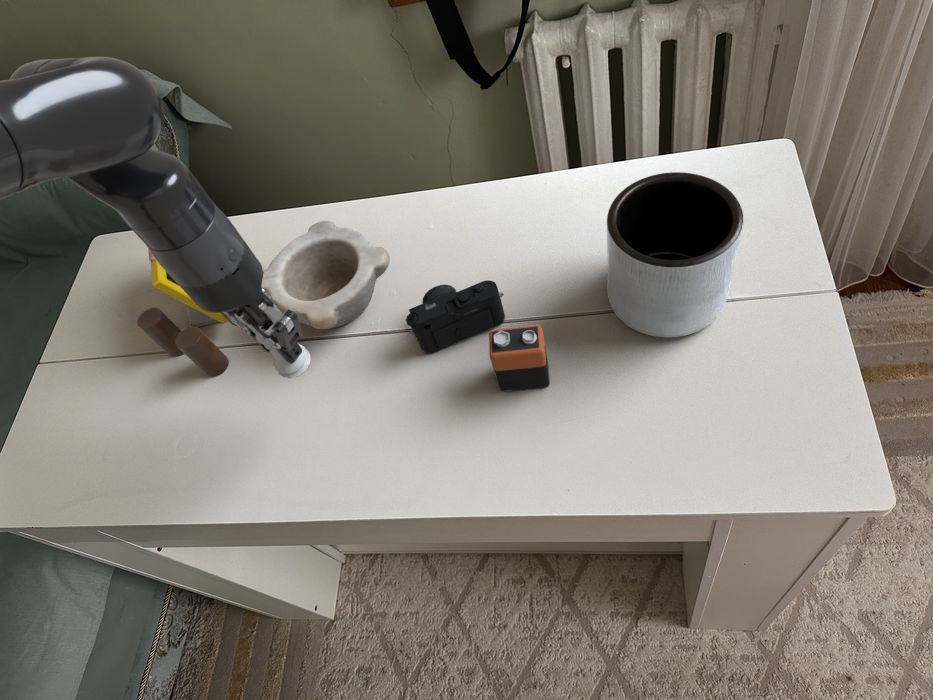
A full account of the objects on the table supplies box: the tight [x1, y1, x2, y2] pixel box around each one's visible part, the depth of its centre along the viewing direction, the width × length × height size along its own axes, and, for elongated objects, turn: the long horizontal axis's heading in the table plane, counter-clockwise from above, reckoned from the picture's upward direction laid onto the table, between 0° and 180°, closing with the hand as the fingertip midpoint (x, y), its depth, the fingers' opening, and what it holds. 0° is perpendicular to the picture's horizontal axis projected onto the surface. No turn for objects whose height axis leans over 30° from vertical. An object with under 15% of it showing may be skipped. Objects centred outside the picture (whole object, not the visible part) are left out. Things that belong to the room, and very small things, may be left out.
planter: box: [606, 171, 744, 338], centre depth 82 cm, size 16×16×16 cm
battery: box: [488, 324, 551, 392], centre depth 82 cm, size 4×7×10 cm, turn 90°
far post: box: [136, 307, 185, 358], centre depth 99 cm, size 4×4×8 cm
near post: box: [175, 325, 230, 378], centre depth 95 cm, size 4×4×8 cm
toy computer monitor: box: [147, 247, 229, 328], centre depth 100 cm, size 20×8×16 cm, turn 20°
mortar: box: [261, 220, 391, 330], centre depth 96 cm, size 17×17×9 cm
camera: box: [405, 279, 506, 355], centre depth 90 cm, size 14×7×8 cm, turn 110°
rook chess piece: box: [256, 326, 312, 379], centre depth 74 cm, size 4×4×8 cm
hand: (283, 350), depth 74 cm, fingers closed on rook chess piece, 3 cm apart
